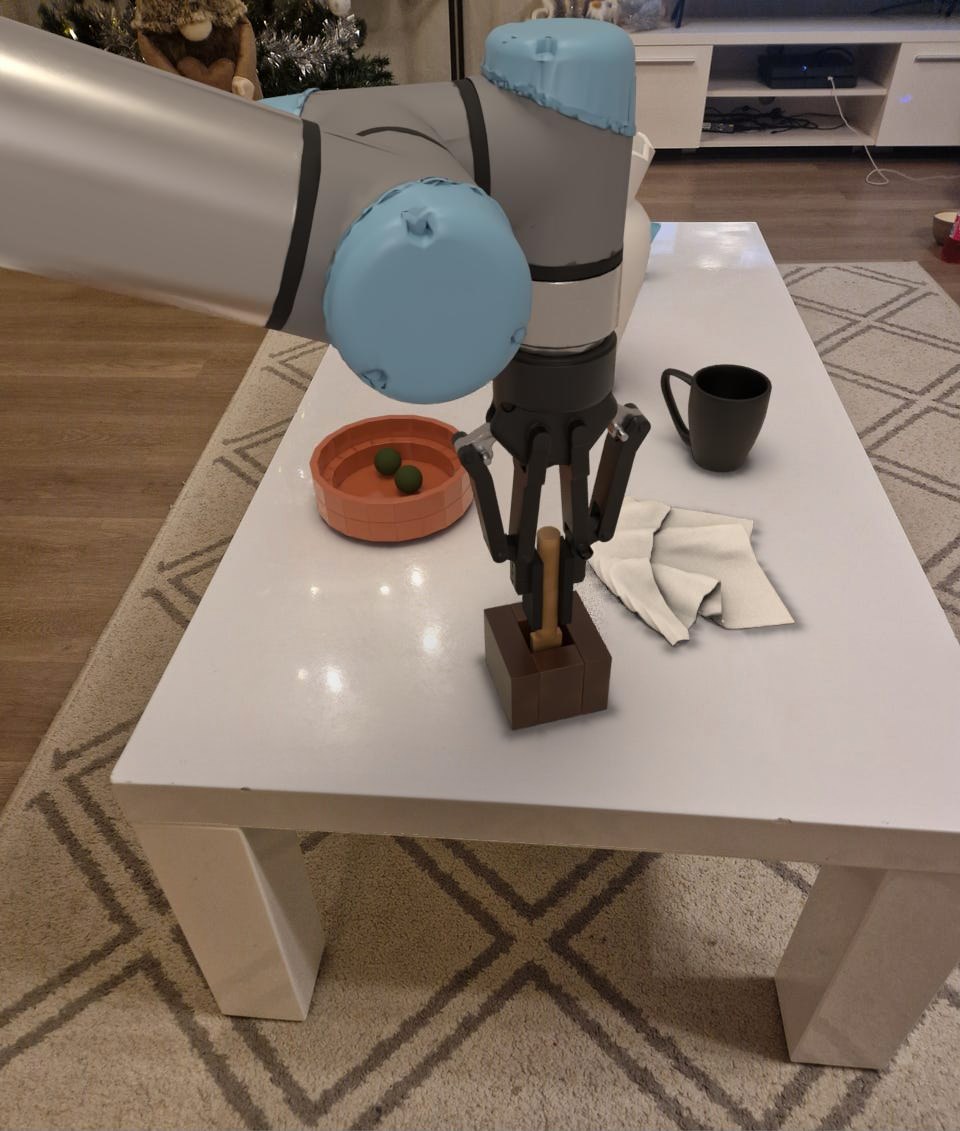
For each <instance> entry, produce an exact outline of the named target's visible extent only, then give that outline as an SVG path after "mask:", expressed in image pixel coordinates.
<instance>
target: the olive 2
mask: <svg viewBox="0 0 960 1131" xmlns="http://www.w3.org/2000/svg"><path fill="white" fill-rule="evenodd" d="M394 481H395V485H396V487H397V488H398V489H399V490H400V491H402V492H404V493H414V492H416V491H417V490H418V489H419V488H420V487H421V485H422V482H423V476H422V473H421V472H420V470H419V469H418V468H417V467H415V466H412V465H404V466H402V467H400V468H399V469H398V470H397V472H396V473H395V477H394Z"/></svg>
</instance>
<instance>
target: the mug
mask: <svg viewBox="0 0 960 1131" xmlns="http://www.w3.org/2000/svg"><path fill="white" fill-rule="evenodd" d="M671 376H672V377H675V378H677V379H679V380H680V381H683V382H684V383H685V384H687V385H688V386H689V387H690V389H689V396H688V402H687V421H688V422H687V423H688V427H687V425H686V424H685V421H684V420H683V417H682V415H681V413H680V410H679V407H678V405H677V403H676V399H675V397H674V394H673V391H672V387H671ZM659 382H660V383H659V384H660V390H661V394H662V396H663V399H664V402H665V406H666V407H667V410H668V413H669V415H670V418H671V421H672V423H673V425H674V427H675V429H676V430H675V431H676V432H677V434H678V436H679V437H680V440H682V442H683V443H684V444H685V445H686V446H687V447H689V448H690V449H691V450H692V456H693V457H692V458H693V461H694V462H695V463H696V464H697V465H698V466H699V467H701V468H703V469H705V470H708V471H711V472H716V473H717V472H718V473H729V472H733V471H735V470H738V469H740V468H741V467H742V466H743V465H744V462H746V459H747V457H748V455H749V453H750V452H751V450H752V448H753V447H754V445H755V443H756V441H757V440H758V437H759V436H760V433H761V431H762V428H763V425H764V422H765V420H766V416H767V413H768V408H769V404H770V399H771V395H772V390H773V384H772V381H771V380H770V378H769V377H768V376H767V375H766V374H764V373H763V372H761V371H759V370H758V369H755V368H751V367H749V366H745V365H739V364H731V363H730V364H729V363H723V364H713V365H708V366H705V367H701V368H700V369H698V370H697V371H696V372H695V373H694V374H693V375H691V374H690V373H687V372H685V371H683V370H680V369H677V368H671V367H669V368H666V369H664V370H662V373H661V376H660V381H659Z"/></svg>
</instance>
